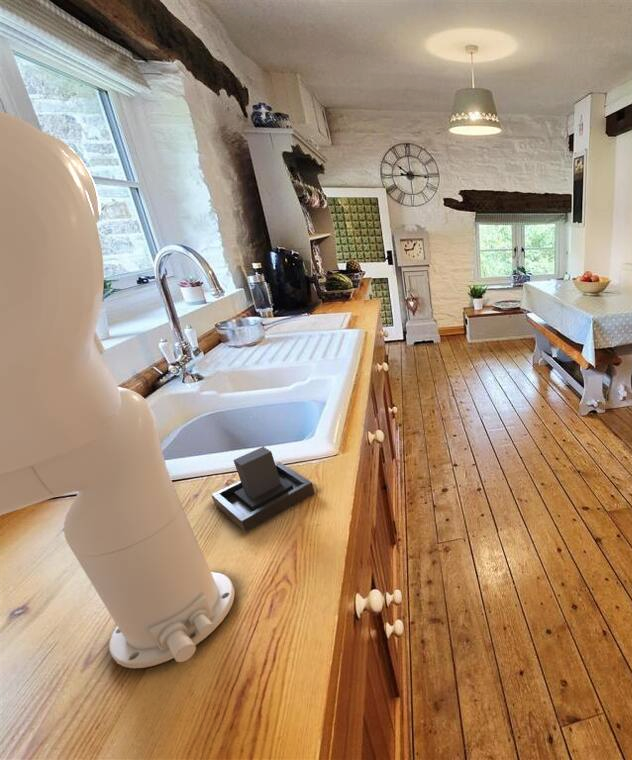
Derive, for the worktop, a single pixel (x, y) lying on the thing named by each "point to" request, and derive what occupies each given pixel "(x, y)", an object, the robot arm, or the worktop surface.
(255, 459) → the dark grey stamp block
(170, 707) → the worktop surface
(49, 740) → the worktop surface
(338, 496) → the worktop surface
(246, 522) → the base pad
